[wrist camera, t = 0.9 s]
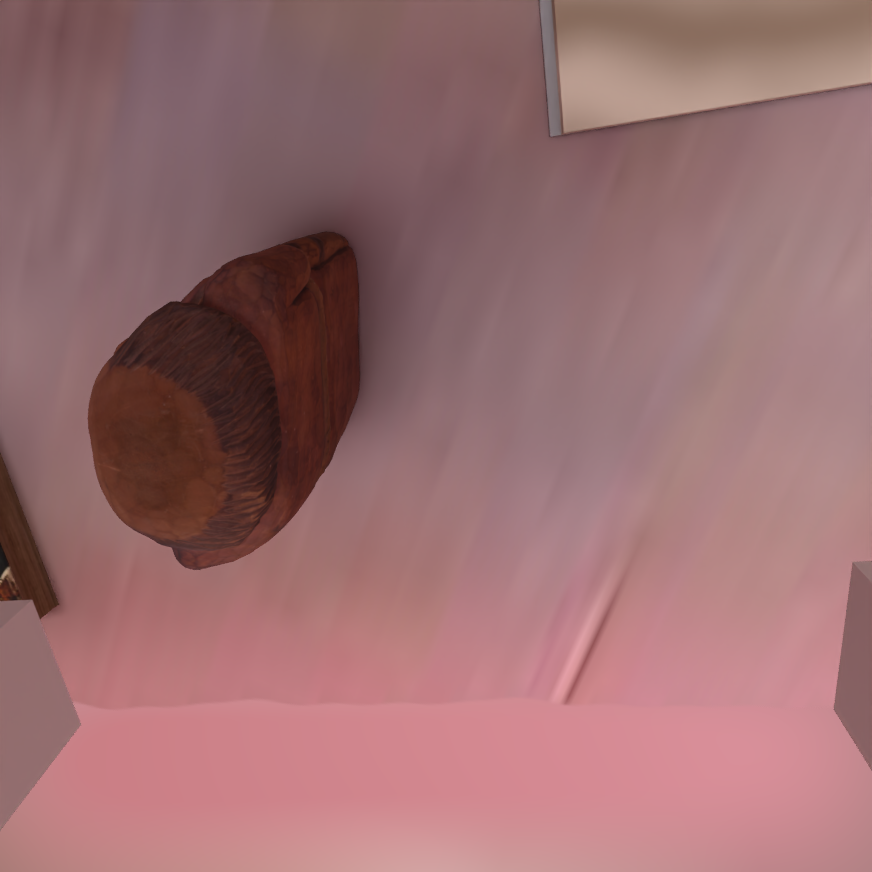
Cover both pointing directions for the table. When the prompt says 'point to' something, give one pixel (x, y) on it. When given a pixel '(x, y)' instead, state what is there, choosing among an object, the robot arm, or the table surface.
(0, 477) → the book
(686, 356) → the table surface
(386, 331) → the table surface
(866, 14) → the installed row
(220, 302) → the wooden figurine
